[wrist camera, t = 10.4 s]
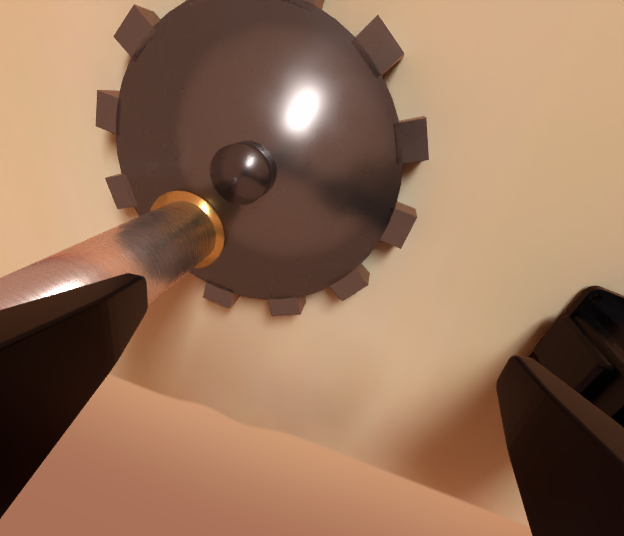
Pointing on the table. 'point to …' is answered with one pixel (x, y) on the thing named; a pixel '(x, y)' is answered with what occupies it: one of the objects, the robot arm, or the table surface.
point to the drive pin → (121, 256)
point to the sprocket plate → (265, 141)
